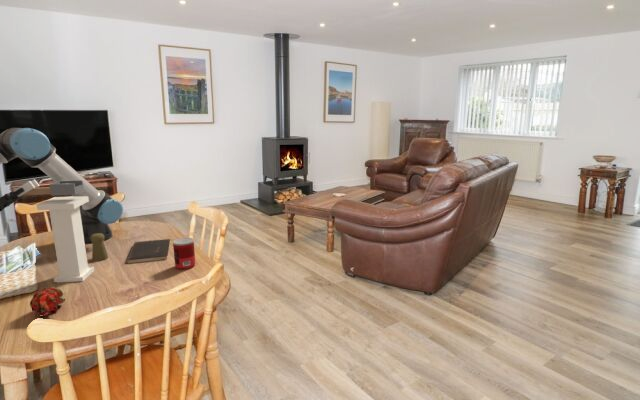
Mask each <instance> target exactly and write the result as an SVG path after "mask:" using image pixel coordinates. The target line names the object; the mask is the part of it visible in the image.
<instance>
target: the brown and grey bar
mask: <svg viewBox="0 0 640 400" xmlns="http://www.w3.org/2000/svg"><path fill="white" fill-rule="evenodd" d="M17 188H18V187H15V188H11V189H10V190H11V191H10V192H12V191H13V192H14V190H15V189H17ZM83 191H84V187H83V180H76V181H58V182H55V181H54V182H53V183H52V182H51V183H49V186H46V187H45V186H43V187H42V186H41V187H40V186H39V187H36V188H33V189H32V190H30V191H28V192H27V193H25V194H23V195H25V196H35V195H37V196H38V195H51V196H72V195H76V194H78V193H80V192H83Z"/></svg>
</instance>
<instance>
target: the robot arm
mask: <svg viewBox="0 0 640 400" xmlns="http://www.w3.org/2000/svg"><path fill="white" fill-rule="evenodd" d="M49 139H50V138H48V137H47V135H46V134H44V132H42V131H40V130H37V129H34V128H30V127H23V128H22V127H11V128H8V129H6V130H4V131H2V132H1V133H0V165H1V164H7V163H9V162H10V161H12V160H14V159H16V158H18V159H20V160H22V161H23V162H24V163H25V164H27V166H29V167H30V168H38V169H39V170H40V171H42V172H43V173H44V174H45V175H47V176H48V178H50V179H51V180H53V181H54V183H55V182H58V181H76V180H83V187H84V191H83V192H80V193H78V194H76V195H71V197H79V196H88V199H89V202H87V203H85V204H83V205H81V206H79V207H80V214H81V221H82V228H83V235H84V242H85V244H88V243H89V244H91V243H93V242H92V241H91V239H90V237H91V235H93V234H96V233H102V234H103V235H104V241H107V240H109V239H111V238H112V237H113V231H112V229H111V227H110V225H111V224H116V222H118V221H119V220H120V219H121V218H122V215H124V214H123V212H124V211H123V210H124V206H123V204H122V203H121V201H119V200H117V199H116V198H113V197H111V196H110V195H109V194H108V193H107V192H106V191H104V190H103V189H101V190H99V189H96V187H94V186H93V185H92V184H91V183H90V182H89V181H88V180H86V179H85V178H84V176H82V175H81V174H80V173H79V172H78V171H76V170H75V169H74V168H73V167H72V166H71V165H70V164H68V163H67V162H66V161H65V160H64V159H63V158H61V156H60V155H58V154H57V153H56V151H57V149H56V147H55V146H54V145H53V144H52V143H51V142H50V140H49ZM36 187H40V183H38V181H37V180H36V179H32V180H28V181H27V182H25V183H24V184H22V185H20V186H18V187H16V188H17V189H15V190H14V192H13V191H10V192H9V193H5V194H4V195H2V196H0V212H1V211H3V210H4V209H6V208H8V207H10V206H11V205H12V204H14V203H15V202H17V201H18V200H19V199H21V198H23V197H25V196H26V195H23V194H25V193H27V192H28V191H30V190H32V189H33V188H36Z"/></svg>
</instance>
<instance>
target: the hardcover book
mask: <svg viewBox="0 0 640 400" xmlns="http://www.w3.org/2000/svg"><path fill="white" fill-rule="evenodd" d="M170 242H171V239H170V238H165V239H164V238H163V239H154V240H145V241H142V240H141V241H135V242H134V243H133V245H132V247H131V249H130V252H129V253H128V254H129V255H128V256H127V259H126V264H133V263H143V262H151V261H152V262H153V261H159V260H160V261H161V260H167V259H168V255H169V249H170V244H171V243H170Z"/></svg>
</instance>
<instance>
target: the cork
mask: <svg viewBox="0 0 640 400" xmlns="http://www.w3.org/2000/svg"><path fill="white" fill-rule="evenodd" d="M90 239H91V241H92V245H91V246H92V247H91V249H92V253H91V255H92V256H91V258H92V260H91V261H92V262H93V261H94V262H101V261H104V260H107V259H108V258H109V256H108V252H107V248H106V244H105V243H104V241H105V240H104V235H103V234H102V233H96V234H93V235H91V237H90Z"/></svg>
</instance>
